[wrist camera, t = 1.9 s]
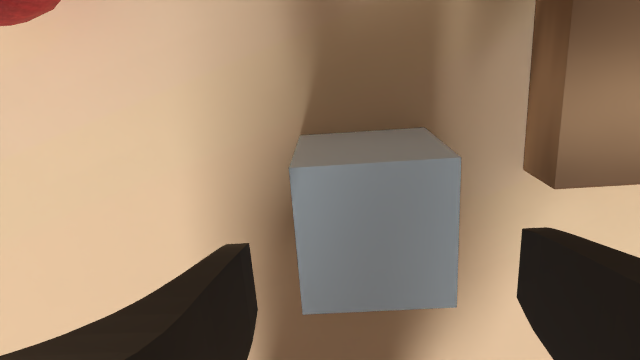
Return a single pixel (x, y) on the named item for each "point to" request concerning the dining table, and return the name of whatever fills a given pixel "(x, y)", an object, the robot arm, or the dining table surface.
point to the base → (584, 94)
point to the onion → (23, 10)
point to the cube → (376, 221)
